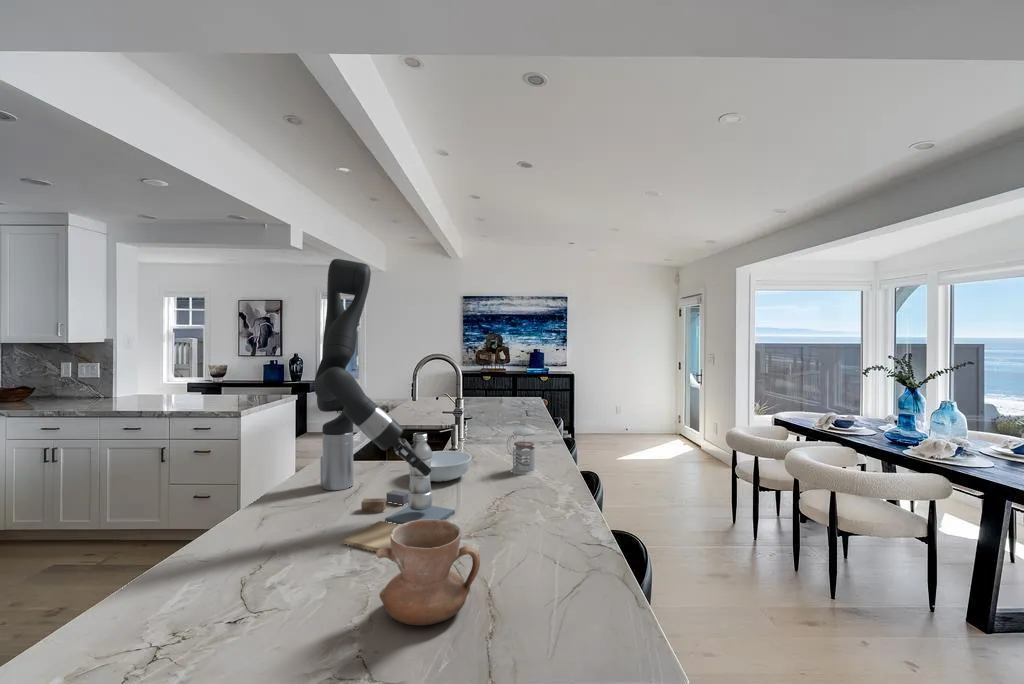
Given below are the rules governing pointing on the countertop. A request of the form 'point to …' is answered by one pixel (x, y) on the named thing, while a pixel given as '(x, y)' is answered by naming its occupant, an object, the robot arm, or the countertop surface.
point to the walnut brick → (373, 505)
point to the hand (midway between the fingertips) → (426, 469)
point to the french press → (523, 452)
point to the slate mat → (419, 514)
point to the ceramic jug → (426, 572)
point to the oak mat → (372, 536)
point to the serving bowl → (448, 465)
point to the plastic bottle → (420, 476)
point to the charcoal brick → (397, 497)
